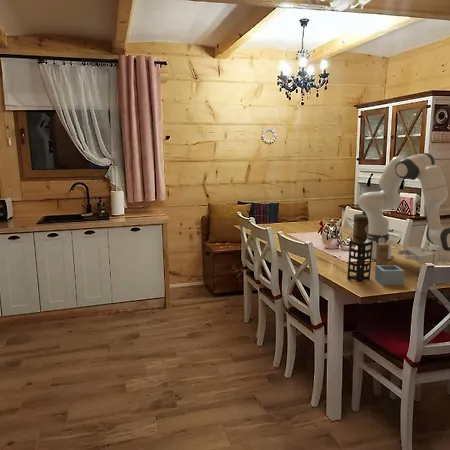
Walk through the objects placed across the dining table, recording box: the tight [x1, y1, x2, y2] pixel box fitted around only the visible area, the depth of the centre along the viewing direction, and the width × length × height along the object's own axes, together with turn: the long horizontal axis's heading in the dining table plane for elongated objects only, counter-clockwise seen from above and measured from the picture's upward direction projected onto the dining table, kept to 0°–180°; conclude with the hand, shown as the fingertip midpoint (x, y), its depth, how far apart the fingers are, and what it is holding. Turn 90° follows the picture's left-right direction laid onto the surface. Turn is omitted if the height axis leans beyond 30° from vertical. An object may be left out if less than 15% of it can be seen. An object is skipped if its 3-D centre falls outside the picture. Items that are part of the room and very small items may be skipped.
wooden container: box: [352, 210, 369, 243], centre depth 292 cm, size 15×15×22 cm
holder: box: [346, 240, 373, 282], centre depth 206 cm, size 11×8×20 cm
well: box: [374, 264, 405, 286], centre depth 202 cm, size 10×10×7 cm
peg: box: [375, 243, 389, 266], centre depth 214 cm, size 4×4×16 cm
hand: (402, 254), depth 214 cm, fingers open, 8 cm apart
